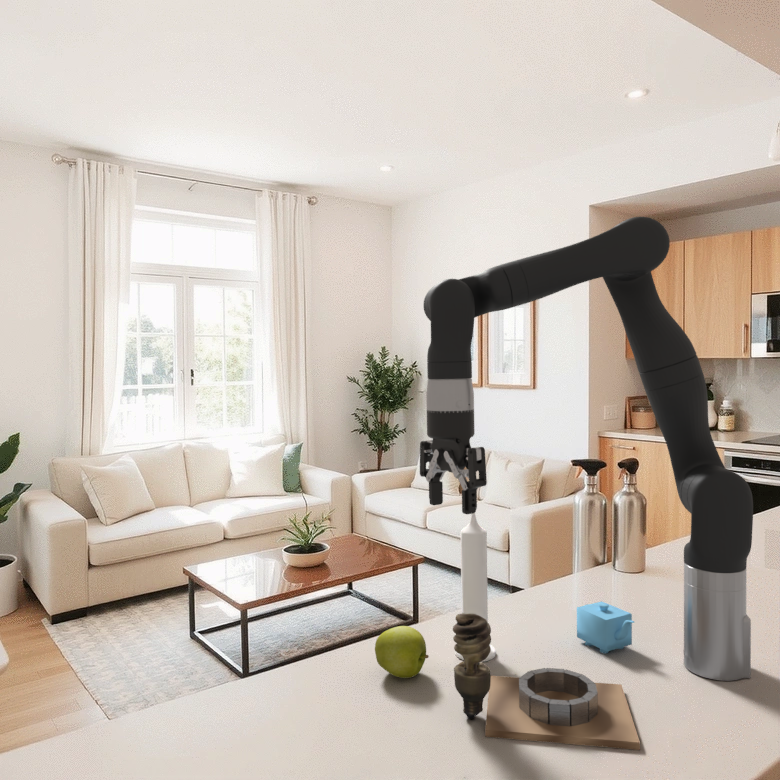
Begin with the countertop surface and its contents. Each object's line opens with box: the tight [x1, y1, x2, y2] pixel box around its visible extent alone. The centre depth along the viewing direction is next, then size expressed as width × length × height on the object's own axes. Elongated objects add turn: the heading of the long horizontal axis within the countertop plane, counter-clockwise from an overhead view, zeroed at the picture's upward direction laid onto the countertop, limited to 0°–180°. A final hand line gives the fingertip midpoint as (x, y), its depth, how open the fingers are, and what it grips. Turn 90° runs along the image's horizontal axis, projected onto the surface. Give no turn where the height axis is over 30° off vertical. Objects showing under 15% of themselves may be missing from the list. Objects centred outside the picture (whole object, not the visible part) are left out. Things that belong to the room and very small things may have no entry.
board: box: [484, 675, 641, 751], centre depth 98 cm, size 20×16×1 cm
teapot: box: [576, 600, 635, 654], centre depth 119 cm, size 12×6×8 cm, turn 28°
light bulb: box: [452, 612, 492, 720], centre depth 97 cm, size 6×6×15 cm
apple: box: [374, 625, 430, 679], centre depth 110 cm, size 8×9×8 cm
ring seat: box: [519, 667, 598, 727], centre depth 97 cm, size 11×11×3 cm
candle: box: [454, 512, 496, 663], centre depth 117 cm, size 7×7×25 cm
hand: (452, 508), depth 107 cm, fingers open, 8 cm apart
